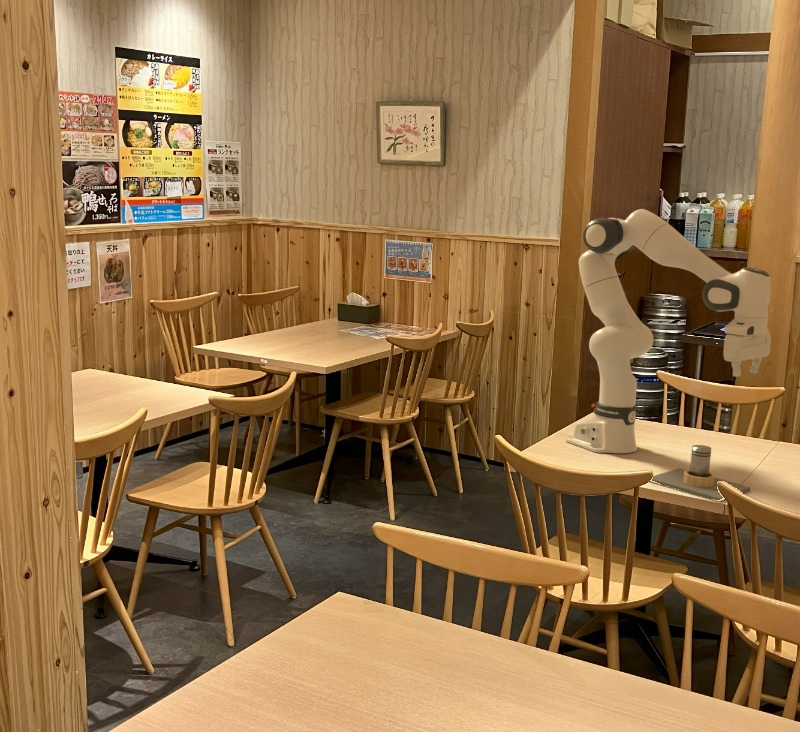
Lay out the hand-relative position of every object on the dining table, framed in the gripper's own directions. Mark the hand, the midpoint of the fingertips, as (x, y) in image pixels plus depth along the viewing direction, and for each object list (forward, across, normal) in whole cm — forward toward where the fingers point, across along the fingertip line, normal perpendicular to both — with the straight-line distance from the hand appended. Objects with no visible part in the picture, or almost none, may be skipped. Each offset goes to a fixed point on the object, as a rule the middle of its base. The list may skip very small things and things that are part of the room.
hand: (745, 374), depth 274 cm
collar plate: (+29, +20, 0) cm, 35 cm away
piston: (+28, +20, 0) cm, 34 cm away
